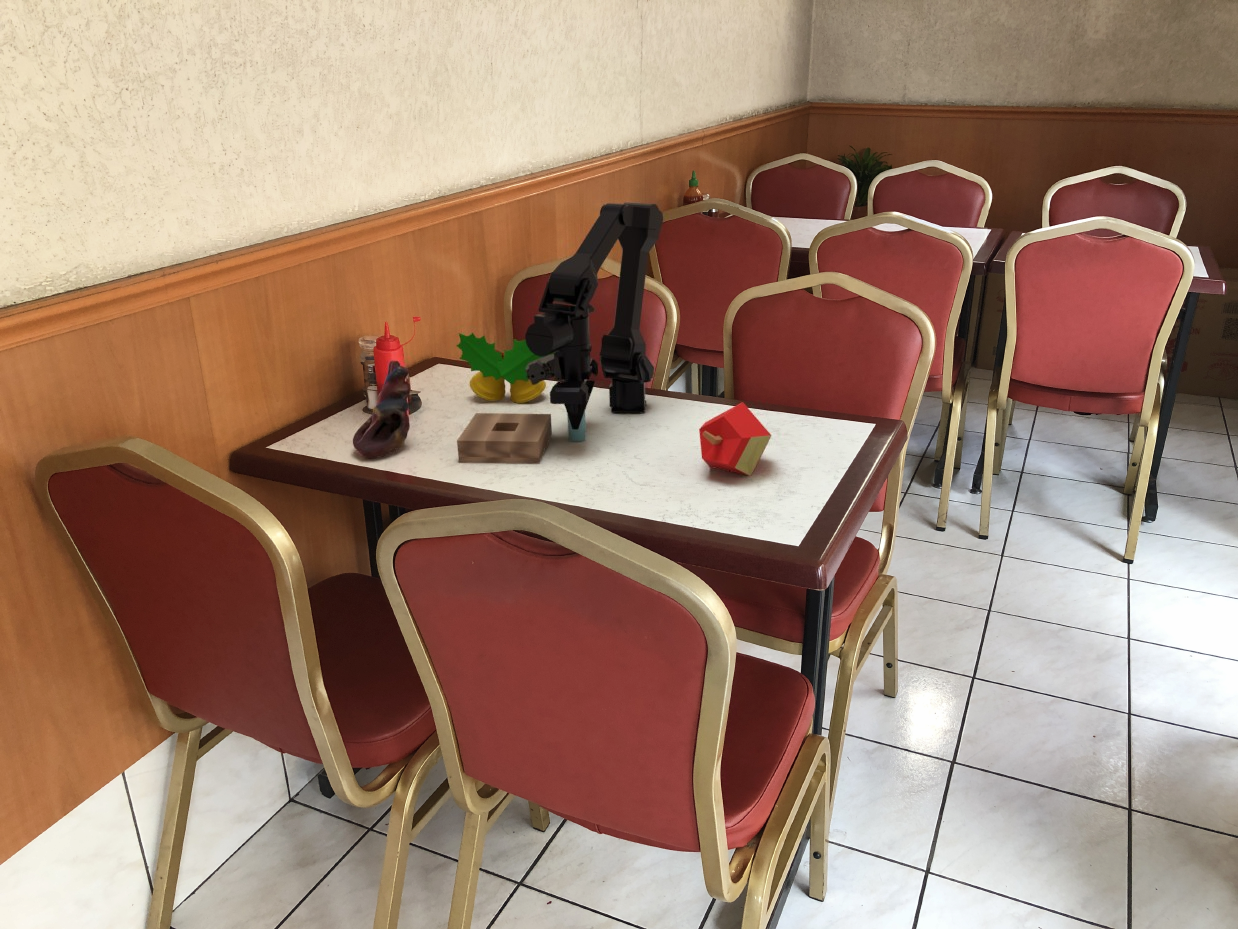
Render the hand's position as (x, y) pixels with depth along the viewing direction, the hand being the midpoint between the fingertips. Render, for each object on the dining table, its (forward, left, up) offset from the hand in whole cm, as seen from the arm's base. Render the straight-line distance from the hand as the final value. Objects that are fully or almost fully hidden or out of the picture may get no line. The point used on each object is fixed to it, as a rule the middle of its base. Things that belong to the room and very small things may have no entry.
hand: (576, 425), depth 175 cm
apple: (-28, +13, -3) cm, 31 cm away
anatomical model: (+34, +6, -3) cm, 35 cm away
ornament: (+16, -22, -3) cm, 27 cm away
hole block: (+12, +5, -2) cm, 13 cm away
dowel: (0, 0, -2) cm, 2 cm away
